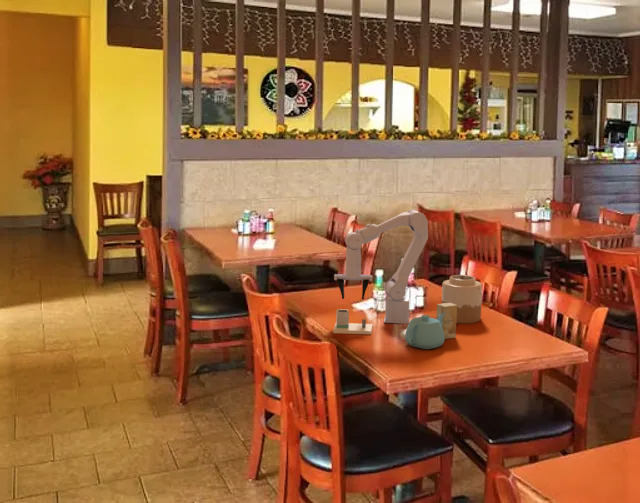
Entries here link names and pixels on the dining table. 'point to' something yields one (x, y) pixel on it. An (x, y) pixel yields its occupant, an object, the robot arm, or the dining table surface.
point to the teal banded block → (342, 318)
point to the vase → (463, 297)
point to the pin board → (355, 328)
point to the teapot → (425, 332)
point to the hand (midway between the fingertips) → (353, 298)
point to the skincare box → (448, 319)
